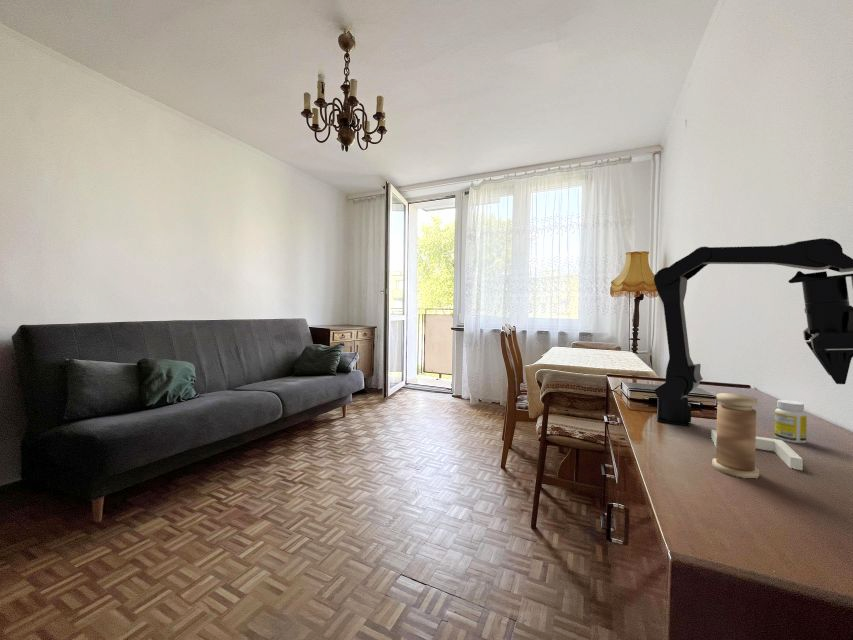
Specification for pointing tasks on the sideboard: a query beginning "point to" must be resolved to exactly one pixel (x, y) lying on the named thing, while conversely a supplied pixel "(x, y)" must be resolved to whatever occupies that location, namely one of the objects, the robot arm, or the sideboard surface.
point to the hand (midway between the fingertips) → (836, 379)
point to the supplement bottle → (790, 421)
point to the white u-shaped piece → (776, 446)
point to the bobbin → (736, 436)
